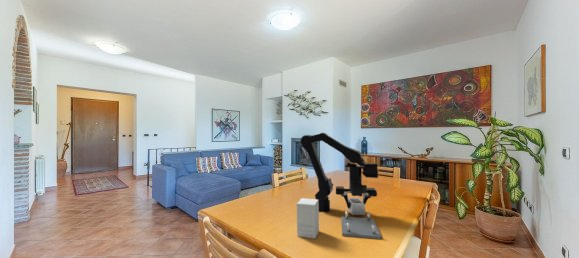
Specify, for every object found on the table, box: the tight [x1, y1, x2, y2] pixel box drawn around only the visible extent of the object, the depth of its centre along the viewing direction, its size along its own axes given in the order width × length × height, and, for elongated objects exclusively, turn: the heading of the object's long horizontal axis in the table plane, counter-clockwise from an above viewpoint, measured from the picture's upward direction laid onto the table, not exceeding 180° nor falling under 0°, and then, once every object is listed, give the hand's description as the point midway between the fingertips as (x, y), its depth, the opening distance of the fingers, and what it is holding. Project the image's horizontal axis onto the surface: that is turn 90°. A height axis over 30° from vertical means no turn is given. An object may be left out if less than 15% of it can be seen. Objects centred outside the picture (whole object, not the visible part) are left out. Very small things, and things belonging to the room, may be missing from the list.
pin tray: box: [340, 210, 382, 240], centre depth 92 cm, size 14×17×4 cm
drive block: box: [346, 197, 366, 216], centre depth 108 cm, size 6×10×5 cm, turn 178°
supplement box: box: [296, 197, 320, 240], centre depth 88 cm, size 7×7×13 cm
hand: (355, 209), depth 108 cm, fingers closed on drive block, 6 cm apart
